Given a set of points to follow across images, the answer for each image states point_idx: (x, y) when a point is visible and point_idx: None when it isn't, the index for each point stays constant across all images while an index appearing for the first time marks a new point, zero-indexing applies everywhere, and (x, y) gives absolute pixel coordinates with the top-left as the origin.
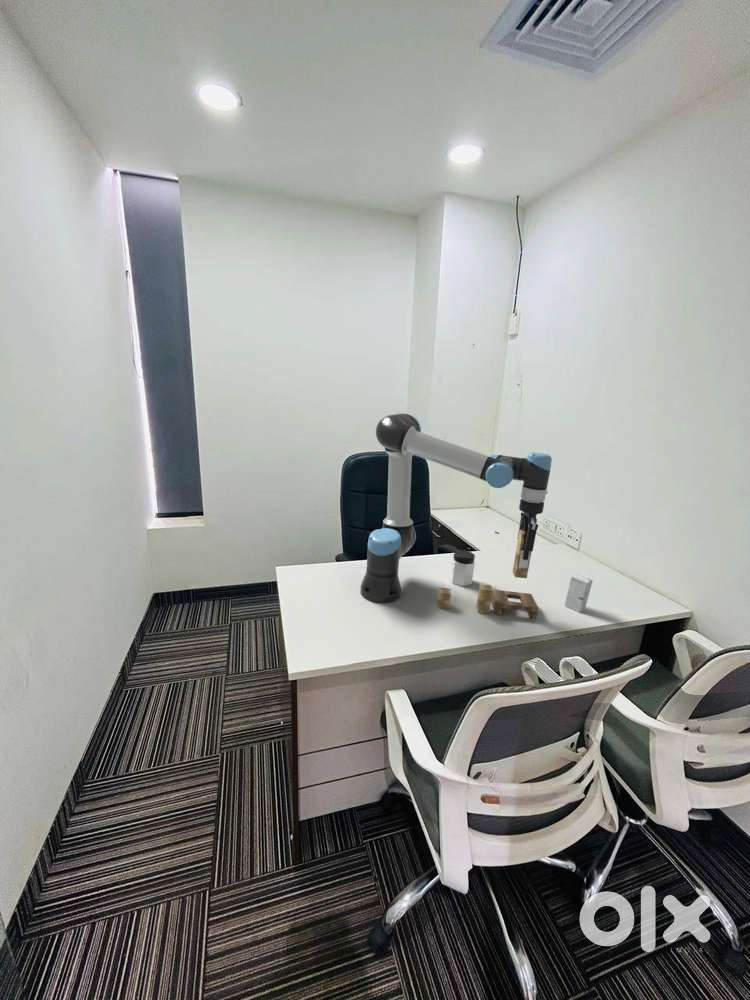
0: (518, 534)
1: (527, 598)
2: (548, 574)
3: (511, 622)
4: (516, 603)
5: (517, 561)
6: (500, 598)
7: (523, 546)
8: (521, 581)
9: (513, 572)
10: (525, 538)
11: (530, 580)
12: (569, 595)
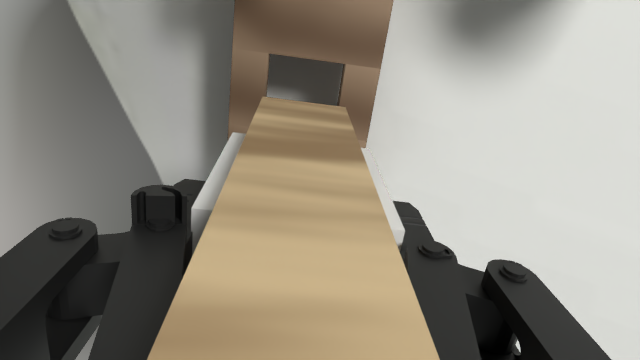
0: (551, 310)
1: None
2: (599, 333)
3: (189, 40)
4: (249, 88)
5: (249, 132)
6: (291, 14)
7: (156, 240)
8: (555, 211)
9: (319, 106)
10: (96, 348)
11: (559, 250)
12: None
